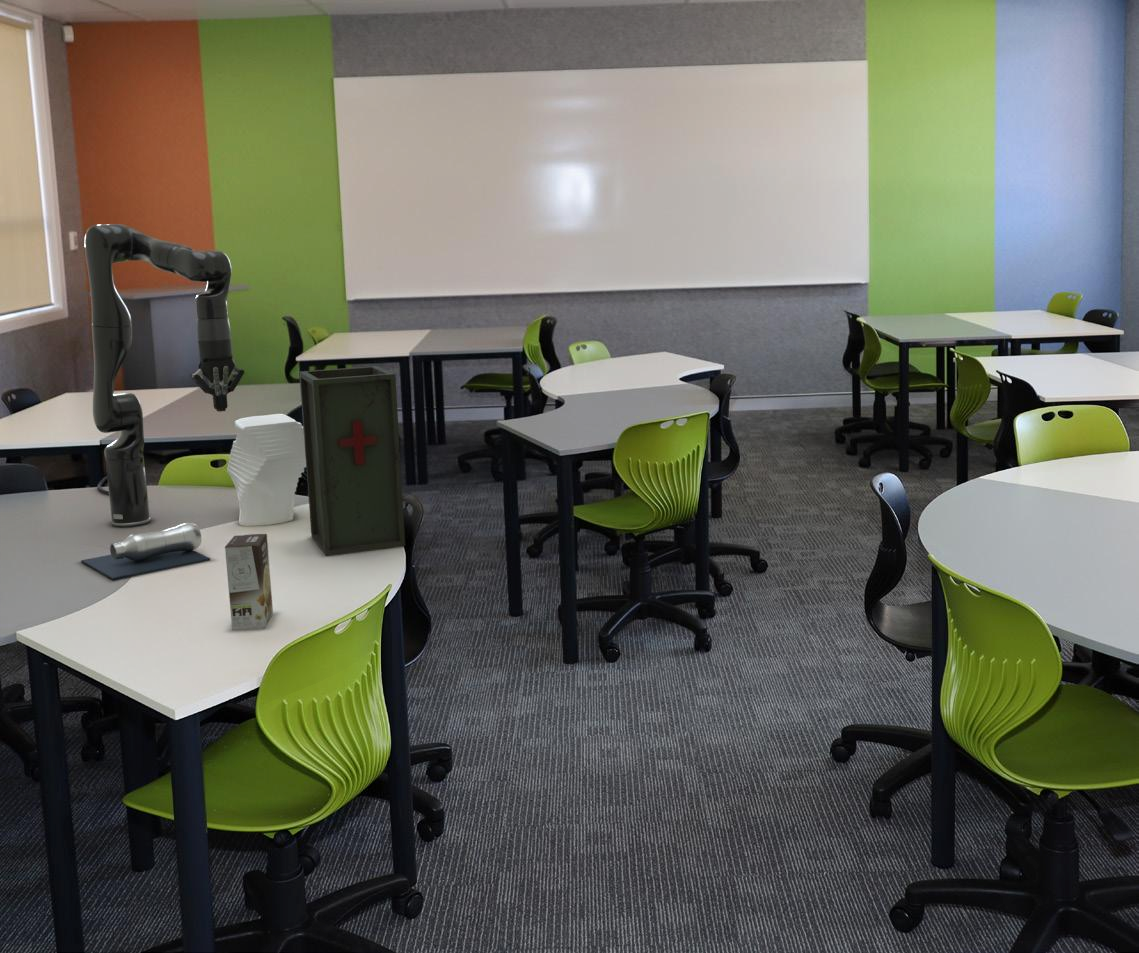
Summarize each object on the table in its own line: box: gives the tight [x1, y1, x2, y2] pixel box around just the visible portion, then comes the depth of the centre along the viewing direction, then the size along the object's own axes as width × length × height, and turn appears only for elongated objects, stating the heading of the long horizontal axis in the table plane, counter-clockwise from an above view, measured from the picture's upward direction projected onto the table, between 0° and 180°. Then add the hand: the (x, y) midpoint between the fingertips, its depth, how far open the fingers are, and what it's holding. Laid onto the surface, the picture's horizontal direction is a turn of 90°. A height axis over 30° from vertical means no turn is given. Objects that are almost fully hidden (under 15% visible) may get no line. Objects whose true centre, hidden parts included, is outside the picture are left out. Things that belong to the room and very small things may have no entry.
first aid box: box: [298, 365, 406, 557], centre depth 283 cm, size 18×18×40 cm
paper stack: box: [226, 413, 306, 527], centre depth 313 cm, size 21×27×26 cm
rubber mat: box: [80, 550, 211, 581], centre depth 275 cm, size 20×22×1 cm
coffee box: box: [224, 533, 274, 631], centre depth 229 cm, size 9×6×16 cm
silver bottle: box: [109, 522, 203, 561], centre depth 276 cm, size 6×7×20 cm
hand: (220, 410), depth 288 cm, fingers closed
